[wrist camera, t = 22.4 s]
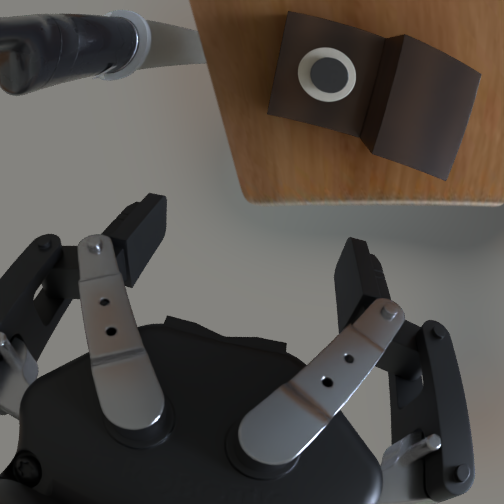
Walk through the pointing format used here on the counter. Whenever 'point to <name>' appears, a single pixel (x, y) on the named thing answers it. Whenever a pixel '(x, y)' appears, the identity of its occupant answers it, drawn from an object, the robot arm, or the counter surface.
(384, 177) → the counter surface
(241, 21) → the counter surface
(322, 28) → the stepped wooden block
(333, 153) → the counter surface
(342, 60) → the white bottle
